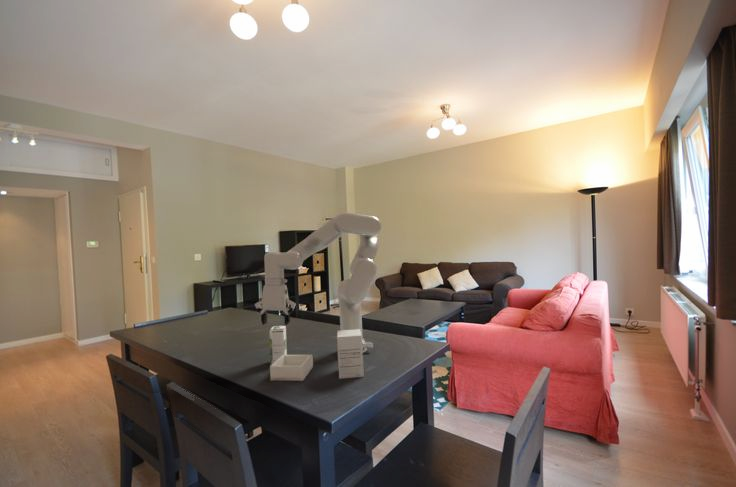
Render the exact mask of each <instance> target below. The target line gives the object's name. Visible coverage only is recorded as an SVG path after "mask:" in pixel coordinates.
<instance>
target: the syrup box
mask: <svg viewBox="0 0 736 487" xmlns="http://www.w3.org/2000/svg"><path fill="white" fill-rule="evenodd" d="M282 355H288V347H287V325H274V326H272V327H271V328H270V329H269V356H270V357H269V358H270V359H269V360H270V366H271V365H272V364H273V363H274V362H275V361H277V360H278V359H279V358H280V357H281V356H282Z"/></svg>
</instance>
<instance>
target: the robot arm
mask: <svg viewBox="0 0 736 487" xmlns="http://www.w3.org/2000/svg"><path fill="white" fill-rule="evenodd" d="M381 230H382V223H381V220H380V219H379V218H378V217H376V216H373V215H368V214H358V213H352V212H341V213H338V214H336V215H335V216H334V217H333V218H331V219H329V220H328V221H327V222H325V223H324V224H322V226H320V227H319V228H317V229H316V230H314V231H313V232H312V233H311V234H309V235H308V236H307V237H306V238H305V239H303V240H302V241H300V242H298V243H297V244H296V245H294V246H293V247H291V249H289V250H288V251H286V252H279V251H269V252H266V253H265V254H264V258H263V259H264V260H263V261H264V285H263V288H262V294H261V295H262V296H261V300H260V301H258V302H256V303H254V307H255V308H256V310H257V312H258V314H259V315H260V318H261V319H260V321H261V324H262V325H263V326H264V325H265V324H268V314H267V311H283V312H284V326H287V325H289V323H290V322H291V314H292V312H293V311H294V309H295V307H296V306H297V303H296V302H294V301H292V300H290V298H289V293H288V292H289V291H288V287H287V284H286V283H287V282H288V279H286V278H285V270H297V269H298V270H299V268H300V267H302V265H303V263H304V261H305V260H307V258H309V257H311V256H312V255H314V254H316V253H317V252H320V251H323V250H325V249H326V248H328V247H329V246H330V245H332V244H333V243H334V242H335V241H337V240H338V239H340V238H341V237H342V236H344V235H345V234H352V235H354V234H355V235H358V236H359V240H360V241H359V245H358V248H357V250H356V253H355V255H354V257H353V259H352V261H351V262H350V265H349V273H350V274H351V276H350V278H347V279H346V278H345V279H344V280H342V281H340V283H339V284H338V286H337V299H338V306H339V323H340V330H354V329H360V331H361V336H362V354H364V353H366V352H367V350H368V349H367V348H373V347H374V344H373V342H371V341H365V338H363V319H362V317H363V316H362V305H361V304H362V302H364V300H365V299H366V297H367V296H368V293H369V291H370V289H371V286H372V285H373V283H374V280H375V278H376V275H377V271H378V270H377V268H378V267H377V264H376V262H375V258H376V256H377V254H378V251H379V247H380V242H379V236H378V234H379V233H380V231H381Z"/></svg>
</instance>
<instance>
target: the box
mask: <svg viewBox="0 0 736 487" xmlns="http://www.w3.org/2000/svg"><path fill="white" fill-rule="evenodd" d="M313 368H314V360H313V354H287V355H282V356H281V357H280V358H279V359H278V360H277V361H275V362H274V363H273V364H272V365H271V364H270V366H269V371H270V372H269V374H270V375H269V376H270V378H269V379H270V381H285V382H286V381H287V382H288V381H290V382H291V381H293V382H294V381H296V382H297V381H299V382H302V381H304V380H305V379H306V377H307V376H308V375H309V374H310V372H311V371H312V369H313Z"/></svg>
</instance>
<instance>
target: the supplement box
mask: <svg viewBox="0 0 736 487" xmlns="http://www.w3.org/2000/svg"><path fill="white" fill-rule="evenodd" d="M336 331H337V333H336V344H337V362H338V364H337V365H338V379H339V380H340V379H353V378H363V377H364V376H365V375H364V357H363V353H362V336H361V331H360V329H354V330H341V329H340V330H336Z"/></svg>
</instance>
